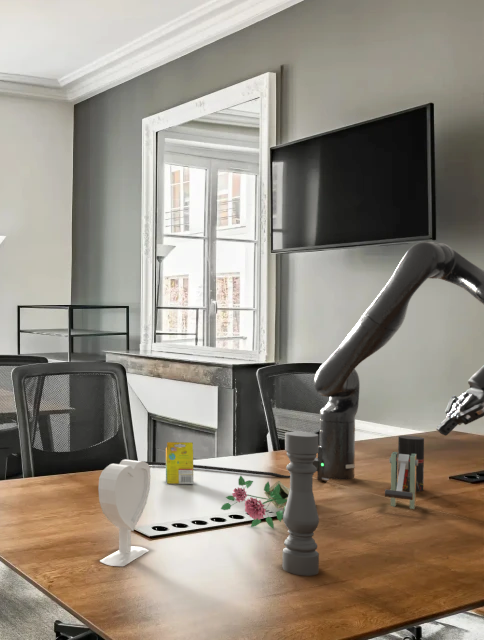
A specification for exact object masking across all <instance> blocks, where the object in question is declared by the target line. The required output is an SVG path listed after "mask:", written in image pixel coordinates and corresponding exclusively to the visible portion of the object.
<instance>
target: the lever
mask: <svg viewBox="0 0 484 640" xmlns="http://www.w3.org/2000/svg"><path fill="white" fill-rule="evenodd" d="M398 468H400V470H399V477H398V476H397V490H396V491H395V490H391V489H387V488H385V489H384V497H385V498H390V499H391V498H397V499H400V500H409V501H410V500H413V493H412V492H410V491H405V490H403V483H404V476H405V470H406V469H409V455H407V454H399V457H398V467H397V469H398Z"/></svg>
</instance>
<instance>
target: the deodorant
mask: <svg viewBox="0 0 484 640" xmlns="http://www.w3.org/2000/svg"><path fill="white" fill-rule="evenodd" d="M397 437H398V439H397V442H398V445H397V446H398V447H397V448H398V450H397V452H398V457H399V454H407V455H409V469H406V470H405V476H404V483H403V490H402V491H404V492H410V456H411V454H416V460H418V466H416V493H417V492H418V493H420V492H423V491H424V486H425V485H424V479H425V478H424V477H425V476H424V475H425V438H424V437H422V436H417V435H399V436H397ZM399 470H400V468H398V467H397V478H398V477H399Z"/></svg>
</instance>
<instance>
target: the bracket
mask: <svg viewBox="0 0 484 640" xmlns="http://www.w3.org/2000/svg"><path fill="white" fill-rule="evenodd" d="M390 455H391V456H389V459H388V460H389V461H388V462H389V464H390V490H395V491H396V490H397V483H398V451H392V453H391V454H390ZM416 466H418V460H416V454H411V456H410V491H409V492H412V493H413V500H409V509H411V510H415V508H416V506H417V492H416ZM397 504H398V498H391V497H390V507H396V506H397Z"/></svg>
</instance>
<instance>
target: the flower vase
mask: <svg viewBox="0 0 484 640" xmlns="http://www.w3.org/2000/svg"><path fill="white" fill-rule="evenodd" d="M237 481H238V486H242V487H237V488H236V487H235V488H234V489H233V490H232V493H231V495H228V496H226V497H225V499H226V500H228V501H231V502H234V503H233V504H231V503H230V502H226V503H224V504H222V506H221V507H220V510H223V511H228V510H231V507H232V506H234V505H235V504H237V503H240V502H243V501H244V507H245V508H244V512H246V513H247V515H248V516H249V517H250V518H252V519H253V520H252V521H251V525H250V528H254V527H257V526H258V525H260V524H262V519H264V518H265V517H264V516H266V515H267V513H268V512H267V509H268V507H269V506H270V504H271V503H272V504H273V505H274V507H275V508H276V509H280V510H279V511H276V512H275V515H276V519H277V520H278V521H279V522H280V523H281V522H282V520H283V514H284V511H285V507H286V503H287V499H288V495H289V491H290V487H287V486H286V485H284V484H283V483H282V482H281V481H280V480H277V482H276V483H274V484H273V485H271V484H270V482H269V481H267V482H266V483H265V485H264V487H263V491H264V494H265V495H266V497H267V498H266V497H261V496H256V495H252V494H247V491H246V489H249V488H250V487H251V486H252V485H253V483H254V480H246V481H245V478H244V477H243V476H242V475H240V476H239V478H238V480H237ZM244 486H245V487H244ZM247 497H250V498H247ZM258 499H262V500H266V501H263V502H262V500H258ZM235 501H236V502H235ZM267 503H268V505H266V504H267ZM265 506H267V507H265ZM282 508H283V510H282ZM265 522H266V524H267V525H268V527H270V528H272V529H273V530H274V529H275V523H274V520H273V518H272V517H271V516H269V515H267V517H266V518H265Z"/></svg>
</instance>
